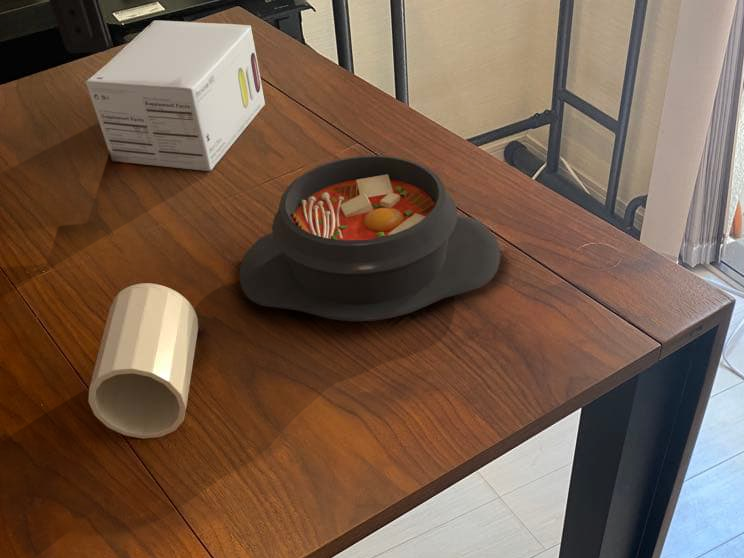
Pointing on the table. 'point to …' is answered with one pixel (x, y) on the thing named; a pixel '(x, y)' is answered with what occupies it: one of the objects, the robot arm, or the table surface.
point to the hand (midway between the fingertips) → (89, 47)
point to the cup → (145, 362)
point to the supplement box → (178, 94)
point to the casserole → (367, 243)
